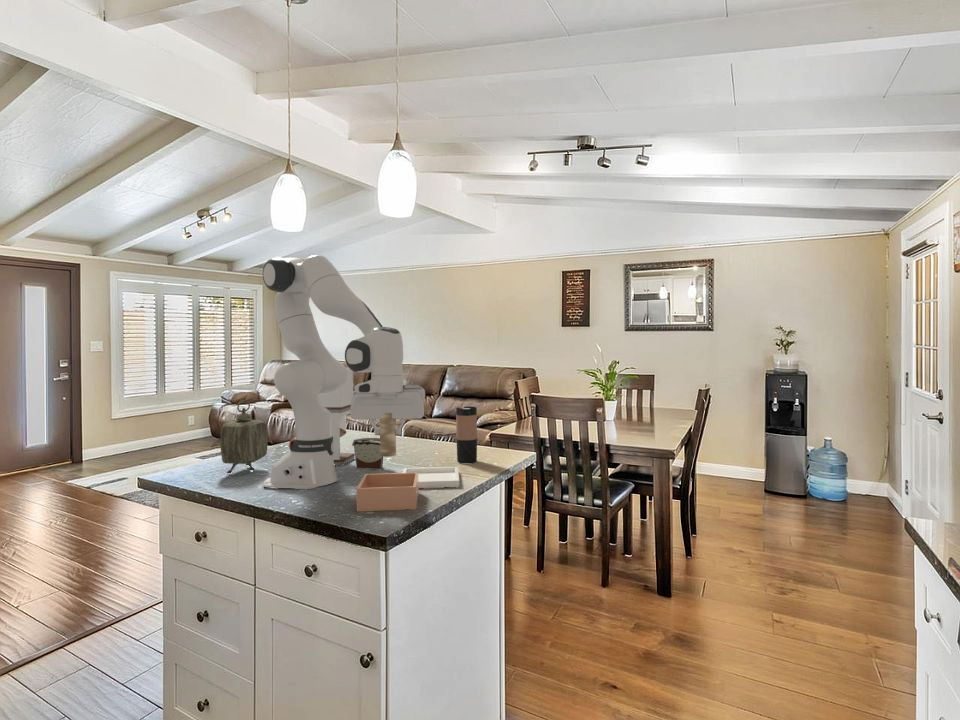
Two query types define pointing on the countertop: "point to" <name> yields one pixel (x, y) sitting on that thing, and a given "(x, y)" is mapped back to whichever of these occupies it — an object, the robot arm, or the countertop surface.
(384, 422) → the dowel pin
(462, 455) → the travel mug
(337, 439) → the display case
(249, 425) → the tabletop clock
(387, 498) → the peach storage bin
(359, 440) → the food container
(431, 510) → the countertop surface
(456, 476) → the tray
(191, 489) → the countertop surface
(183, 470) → the countertop surface
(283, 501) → the countertop surface
